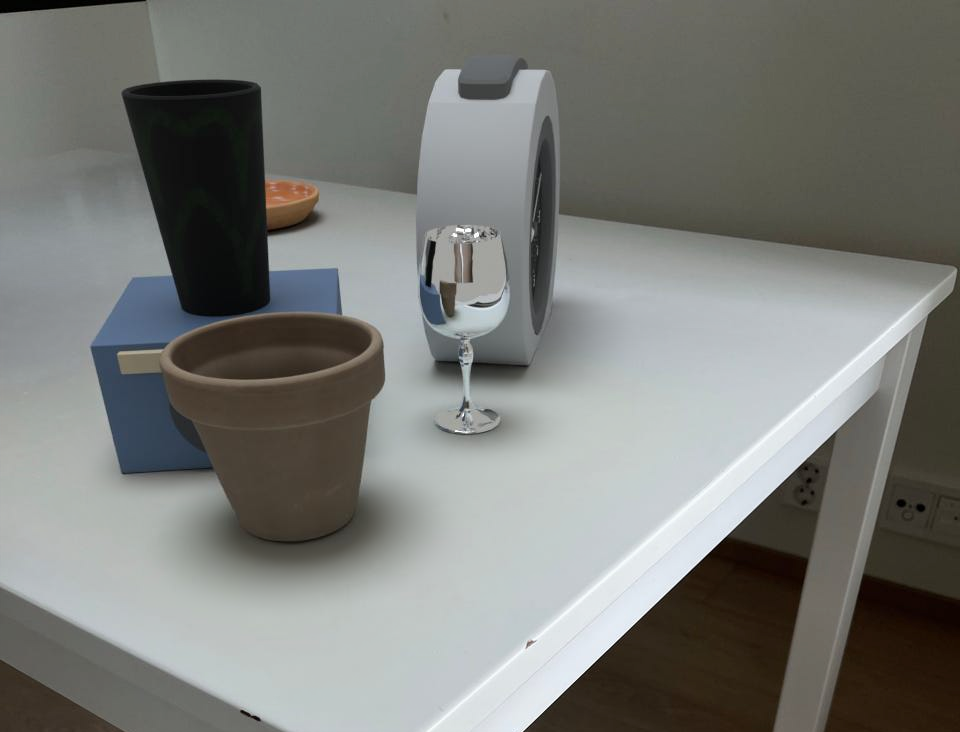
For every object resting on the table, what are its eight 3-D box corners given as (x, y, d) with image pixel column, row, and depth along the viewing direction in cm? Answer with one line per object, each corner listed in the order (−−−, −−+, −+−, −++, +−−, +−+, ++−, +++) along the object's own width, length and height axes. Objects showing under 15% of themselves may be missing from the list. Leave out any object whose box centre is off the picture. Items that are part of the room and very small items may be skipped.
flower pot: (194, 483, 60) (160, 316, 55) (380, 461, 62) (366, 298, 57) (193, 581, 51) (153, 393, 45) (412, 552, 53) (400, 368, 47)
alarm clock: (521, 385, 72) (524, 73, 61) (421, 380, 74) (406, 72, 62) (556, 297, 89) (564, 40, 78) (475, 294, 91) (470, 40, 79)
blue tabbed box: (119, 477, 61) (87, 348, 57) (156, 389, 73) (132, 277, 68) (348, 463, 62) (336, 336, 58) (348, 378, 74) (337, 267, 69)
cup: (280, 319, 60) (251, 95, 53) (152, 324, 60) (106, 98, 53) (291, 283, 66) (266, 77, 60) (175, 287, 66) (137, 80, 59)
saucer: (156, 221, 116) (150, 193, 114) (273, 199, 125) (269, 173, 123) (227, 245, 106) (222, 215, 104) (348, 220, 115) (346, 192, 113)
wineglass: (446, 399, 70) (439, 219, 63) (522, 410, 69) (524, 226, 62) (410, 430, 66) (399, 241, 59) (491, 443, 64) (488, 249, 57)
